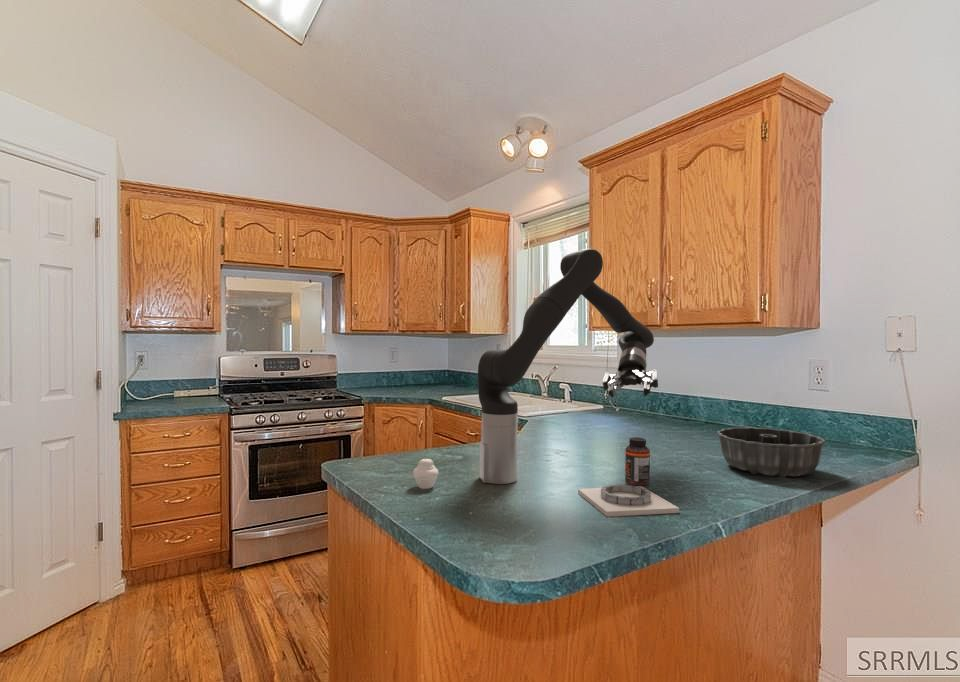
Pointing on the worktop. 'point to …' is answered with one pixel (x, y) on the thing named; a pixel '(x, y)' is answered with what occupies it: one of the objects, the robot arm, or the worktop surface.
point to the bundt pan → (771, 451)
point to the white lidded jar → (425, 474)
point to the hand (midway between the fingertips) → (628, 393)
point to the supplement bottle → (637, 462)
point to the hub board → (612, 509)
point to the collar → (628, 501)
